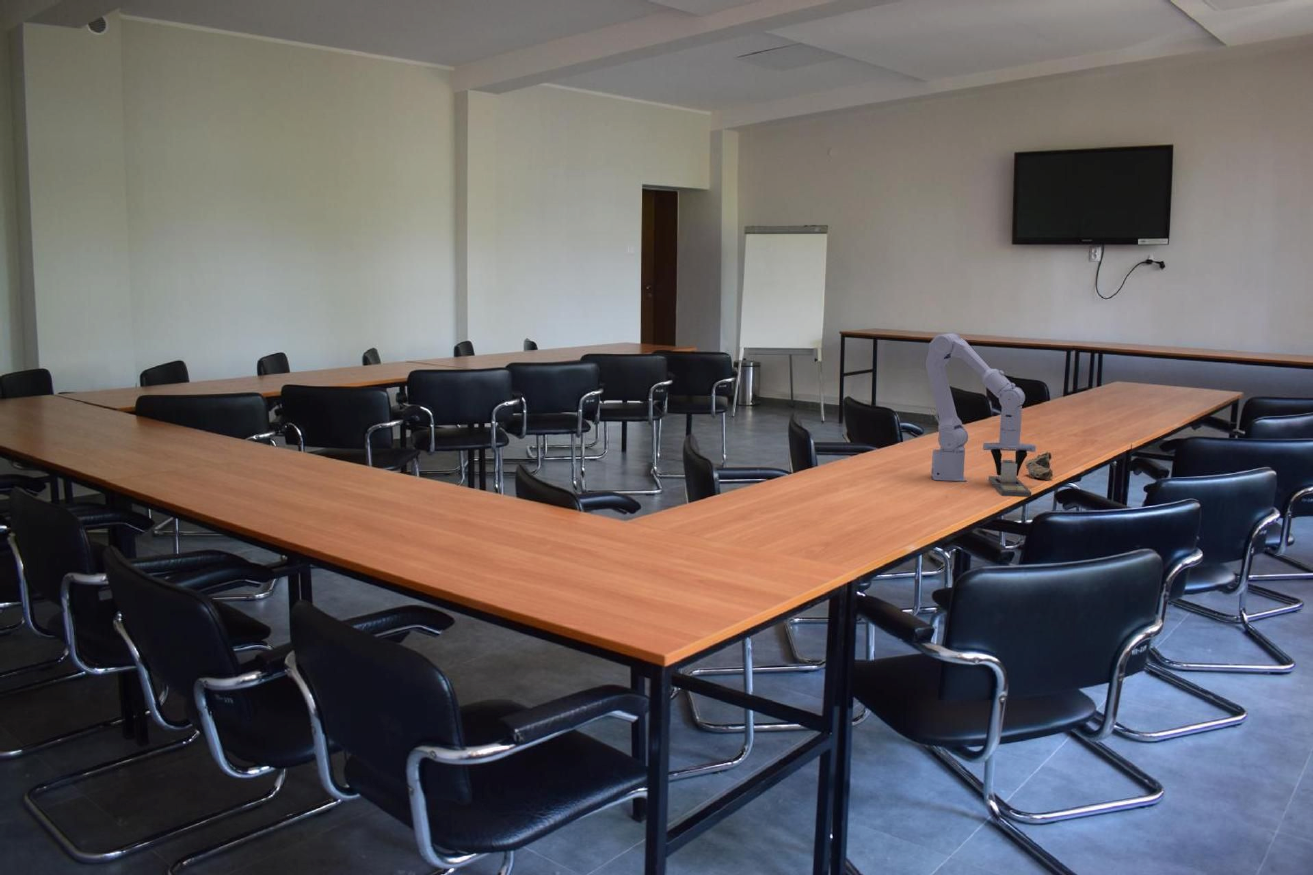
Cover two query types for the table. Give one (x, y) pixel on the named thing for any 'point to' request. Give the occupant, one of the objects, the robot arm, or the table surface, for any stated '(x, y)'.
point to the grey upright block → (1008, 472)
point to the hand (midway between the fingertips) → (1007, 474)
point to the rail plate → (1010, 488)
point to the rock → (1040, 467)
